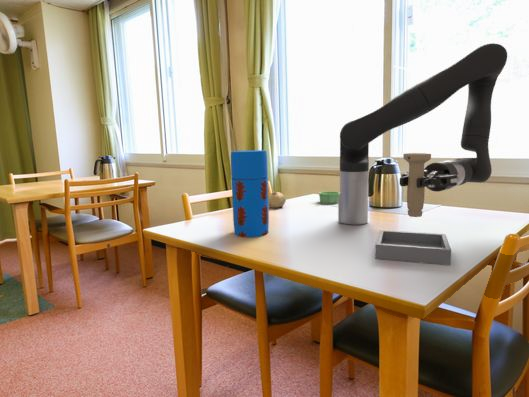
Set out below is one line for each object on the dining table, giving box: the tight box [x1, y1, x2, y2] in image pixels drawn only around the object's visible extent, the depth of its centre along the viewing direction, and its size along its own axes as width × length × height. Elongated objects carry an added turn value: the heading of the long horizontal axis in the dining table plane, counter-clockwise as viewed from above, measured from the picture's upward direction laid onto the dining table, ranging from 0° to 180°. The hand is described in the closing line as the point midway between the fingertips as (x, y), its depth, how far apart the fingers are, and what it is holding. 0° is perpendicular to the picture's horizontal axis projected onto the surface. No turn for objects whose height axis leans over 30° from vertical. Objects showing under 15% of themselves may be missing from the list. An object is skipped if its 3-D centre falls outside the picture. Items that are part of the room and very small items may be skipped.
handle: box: [403, 152, 432, 218], centre depth 90 cm, size 5×6×15 cm
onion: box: [268, 191, 286, 209], centre depth 156 cm, size 8×8×7 cm
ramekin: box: [318, 190, 340, 205], centre depth 164 cm, size 9×9×4 cm
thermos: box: [230, 149, 270, 238], centre depth 114 cm, size 11×11×25 cm
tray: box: [375, 229, 452, 266], centre depth 93 cm, size 16×14×4 cm
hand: (410, 182), depth 88 cm, fingers closed on handle, 3 cm apart
